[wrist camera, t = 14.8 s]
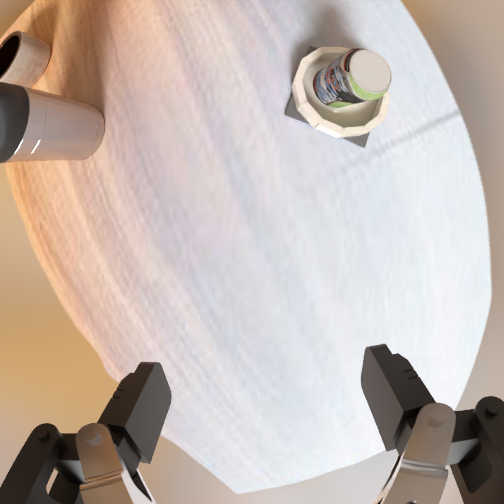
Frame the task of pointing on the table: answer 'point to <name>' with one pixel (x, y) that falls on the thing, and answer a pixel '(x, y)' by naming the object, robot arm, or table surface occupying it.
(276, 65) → the table surface
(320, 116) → the bowl
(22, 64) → the planter
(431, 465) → the robot arm
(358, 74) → the beverage can
